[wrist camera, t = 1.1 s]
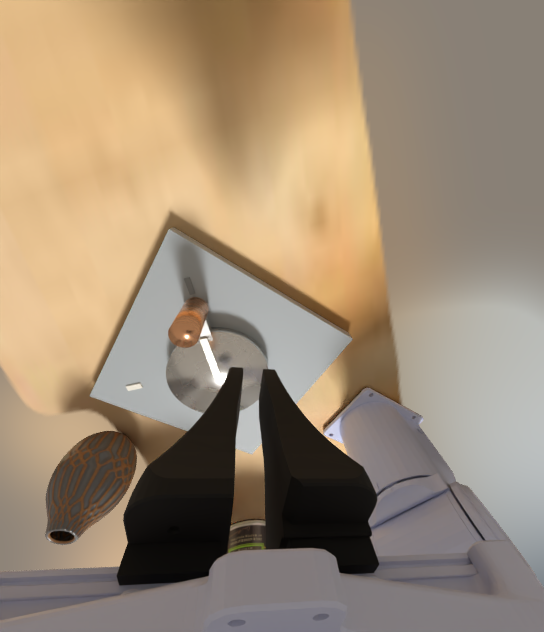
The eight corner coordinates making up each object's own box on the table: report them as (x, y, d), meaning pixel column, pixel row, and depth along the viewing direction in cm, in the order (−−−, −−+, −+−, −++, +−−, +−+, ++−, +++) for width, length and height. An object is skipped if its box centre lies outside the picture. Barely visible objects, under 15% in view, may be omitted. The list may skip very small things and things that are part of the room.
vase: (67, 426, 27) (-8, 521, 19) (132, 416, 27) (84, 507, 19) (95, 467, 30) (40, 564, 22) (153, 458, 30) (119, 551, 22)
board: (348, 332, 25) (353, 339, 24) (251, 445, 31) (251, 455, 29) (173, 226, 19) (168, 229, 18) (96, 387, 25) (88, 397, 24)
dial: (276, 395, 26) (281, 433, 21) (189, 414, 26) (177, 455, 22) (247, 284, 20) (246, 306, 16) (138, 308, 20) (110, 336, 16)
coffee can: (210, 526, 37) (190, 696, 25) (279, 513, 37) (294, 677, 25) (226, 558, 42) (216, 717, 29) (288, 547, 42) (305, 701, 29)
